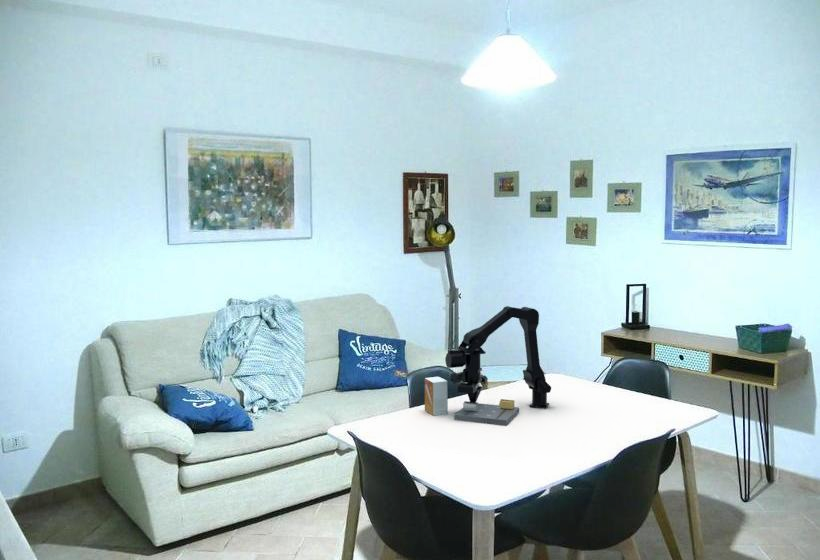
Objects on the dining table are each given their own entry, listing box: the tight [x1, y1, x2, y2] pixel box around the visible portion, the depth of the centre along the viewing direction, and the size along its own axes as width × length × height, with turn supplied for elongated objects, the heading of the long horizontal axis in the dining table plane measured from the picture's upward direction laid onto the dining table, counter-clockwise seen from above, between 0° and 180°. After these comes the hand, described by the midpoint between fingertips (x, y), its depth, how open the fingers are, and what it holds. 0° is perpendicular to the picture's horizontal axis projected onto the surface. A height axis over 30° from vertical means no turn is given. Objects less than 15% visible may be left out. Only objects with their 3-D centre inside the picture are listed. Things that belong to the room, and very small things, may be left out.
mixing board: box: [453, 402, 520, 427], centre depth 274 cm, size 18×20×2 cm
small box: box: [424, 376, 449, 416], centre depth 279 cm, size 8×6×13 cm
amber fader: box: [499, 398, 516, 409], centre depth 277 cm, size 3×5×3 cm, turn 67°
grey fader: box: [462, 400, 479, 411], centre depth 274 cm, size 3×5×3 cm, turn 67°
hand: (472, 405), depth 277 cm, fingers closed
